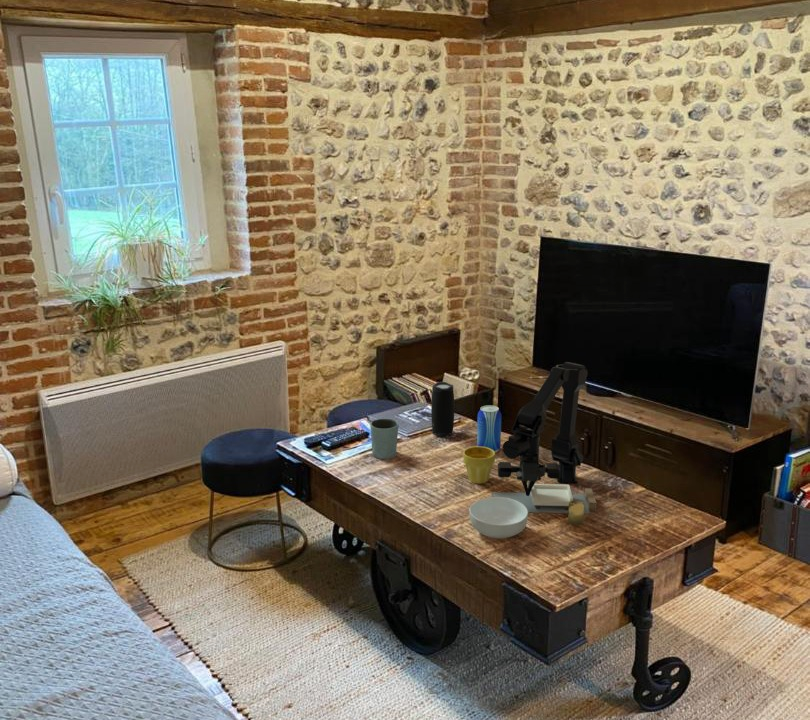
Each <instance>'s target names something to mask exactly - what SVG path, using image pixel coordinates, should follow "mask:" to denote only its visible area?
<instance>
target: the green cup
mask: <svg viewBox="0 0 810 720" xmlns="http://www.w3.org/2000/svg"><path fill="white" fill-rule="evenodd" d="M369 425H370V426H369V427H370V439H371V451H372V452H371V453H372V457H373V458H376V459H378V460H389V459H393V458H395V457H396V456H397V450H398V449H397V447H398V434H399V433H398V432H399V422H398V421H397V420H396V419H394V418H386V417H384V418H383V417H381V418H380V417H379V418H377V419H372V421H371V422H370V423H369Z"/></svg>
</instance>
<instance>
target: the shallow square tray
mask: <svg viewBox="0 0 810 720" xmlns="http://www.w3.org/2000/svg"><path fill="white" fill-rule="evenodd" d="M530 493H531V498H532V504H533V505H535V508H536V509H539V508H540V505H547V506H564V507H565V509H566V510H568V509H569V502H570V501H573V497H572V494H573V493H572V491H571V487H570V484H565V483H564V484H563V483H562V484H561V483H559V484H556V483H553V484H552V483H535V484H534V486H533V488H532V490H531V492H530Z"/></svg>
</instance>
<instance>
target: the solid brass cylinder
mask: <svg viewBox="0 0 810 720" xmlns="http://www.w3.org/2000/svg"><path fill="white" fill-rule="evenodd" d="M584 515H585V514H584V503H583V502H581V501H570V502H569V509H568V513H567V523H568V524H569V525H571V526H574V527H579V526H583V524H584Z"/></svg>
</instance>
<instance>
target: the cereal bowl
mask: <svg viewBox="0 0 810 720" xmlns="http://www.w3.org/2000/svg"><path fill="white" fill-rule="evenodd" d="M468 513H469V514H468V515H469V521H470V523H471V525H472V527H473V528H474V529H475V530H476V531H477V532H478V533H480V534H481V535H484V536H486V537H489V538H493V539H507V538H510V537H514V536H516V535H518V534H520V533H521V532H522V531H523V530H524V529H525V528H526V526H527V524H528V523H527V522H528V517H529V512H528V510H527V508H526V507H525V506H524V505H523V504H522V503H520V502H518V501H516V500H513V499H510V498H504V497H492V496H490V497H484V498H480V499H478V500H476V501H473V502H472V504H470V506H469V510H468Z"/></svg>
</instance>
